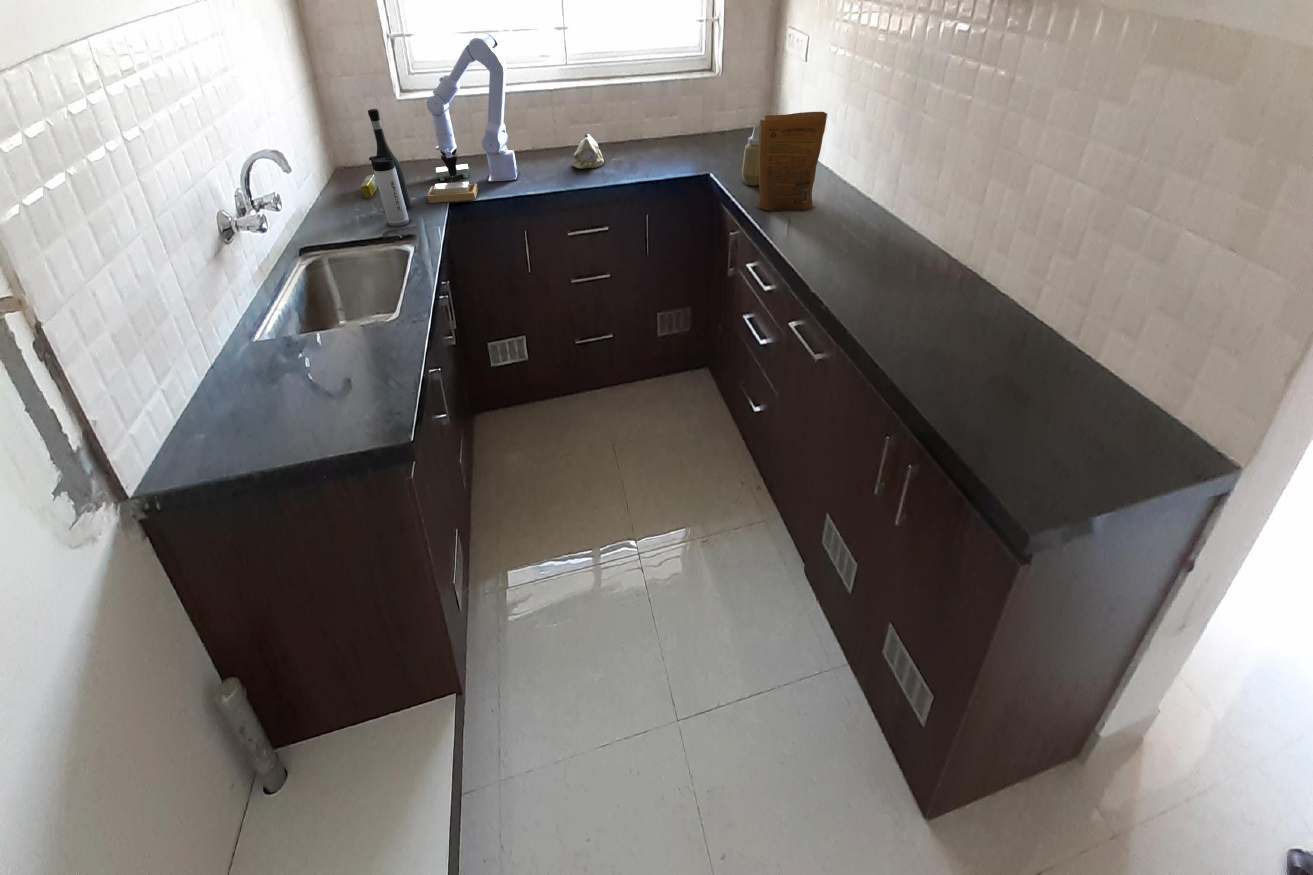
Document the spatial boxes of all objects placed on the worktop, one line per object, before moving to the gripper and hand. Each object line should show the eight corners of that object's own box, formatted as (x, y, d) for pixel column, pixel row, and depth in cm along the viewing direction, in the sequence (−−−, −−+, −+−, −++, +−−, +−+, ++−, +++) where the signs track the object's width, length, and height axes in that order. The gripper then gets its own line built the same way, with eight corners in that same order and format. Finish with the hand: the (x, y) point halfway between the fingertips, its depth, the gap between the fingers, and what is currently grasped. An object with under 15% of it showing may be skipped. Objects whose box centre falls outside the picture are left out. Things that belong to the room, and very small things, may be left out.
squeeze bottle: (768, 180, 238) (772, 123, 227) (761, 188, 232) (764, 130, 221) (745, 178, 241) (748, 121, 230) (737, 185, 235) (739, 128, 224)
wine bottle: (388, 215, 226) (361, 115, 207) (384, 207, 231) (356, 109, 212) (414, 210, 228) (389, 110, 210) (408, 202, 234) (383, 105, 215)
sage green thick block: (469, 173, 255) (467, 164, 253) (470, 177, 251) (468, 168, 249) (437, 177, 253) (435, 167, 251) (438, 181, 249) (436, 172, 247)
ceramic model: (602, 168, 254) (600, 139, 247) (571, 169, 254) (568, 140, 248) (605, 156, 265) (603, 127, 258) (575, 157, 265) (572, 128, 259)
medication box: (371, 186, 248) (366, 175, 245) (379, 185, 248) (374, 173, 245) (364, 198, 238) (359, 186, 236) (372, 196, 238) (367, 185, 236)
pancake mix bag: (818, 212, 215) (829, 114, 197) (754, 213, 216) (759, 115, 199) (816, 204, 220) (826, 107, 202) (754, 205, 221) (758, 108, 204)
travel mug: (389, 219, 223) (371, 154, 210) (411, 218, 223) (394, 152, 211) (385, 227, 218) (366, 160, 205) (407, 226, 218) (389, 159, 206)
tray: (477, 190, 241) (476, 183, 239) (475, 199, 234) (473, 192, 232) (432, 193, 240) (430, 186, 239) (428, 203, 233) (426, 196, 232)
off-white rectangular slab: (470, 191, 239) (468, 181, 237) (468, 196, 235) (466, 187, 233) (437, 193, 238) (435, 184, 236) (435, 199, 234) (433, 189, 232)
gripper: (431, 128, 248) (440, 168, 256) (433, 139, 237) (442, 181, 245) (452, 126, 249) (460, 165, 257) (454, 137, 238) (462, 178, 246)
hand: (452, 173), depth 251 cm, fingers closed on sage green thick block, 5 cm apart
